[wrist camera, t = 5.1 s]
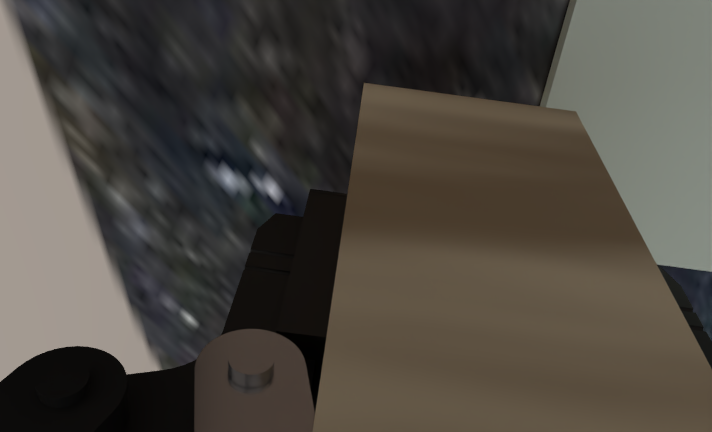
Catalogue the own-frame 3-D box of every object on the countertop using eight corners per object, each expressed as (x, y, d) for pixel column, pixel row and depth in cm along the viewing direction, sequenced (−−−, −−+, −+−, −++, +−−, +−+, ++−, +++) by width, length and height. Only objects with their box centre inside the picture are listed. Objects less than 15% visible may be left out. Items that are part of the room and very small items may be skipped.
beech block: (364, 82, 12) (267, 733, 4) (576, 111, 12) (949, 820, 4) (341, 254, 15) (248, 913, 6) (522, 278, 15) (685, 967, 6)
